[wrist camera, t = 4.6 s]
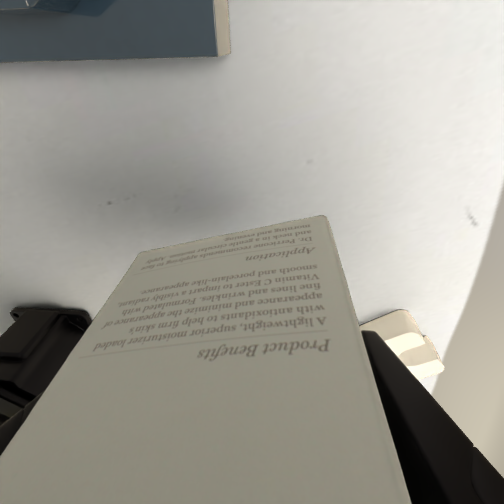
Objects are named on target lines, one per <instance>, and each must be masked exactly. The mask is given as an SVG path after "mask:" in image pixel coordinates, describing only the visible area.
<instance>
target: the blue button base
mask: <svg viewBox="0 0 504 504" xmlns="http://www.w3.org/2000/svg"><path fill="white" fill-rule="evenodd" d="M228 54H231V48H230V30H229V12H228V0H0V63H9V62H46V61H82V60H119V59H156V58H192V57H219V56H223V55H228Z"/></svg>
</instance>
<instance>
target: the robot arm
mask: <svg viewBox="0 0 504 504" xmlns="http://www.w3.org/2000/svg"><path fill="white" fill-rule="evenodd" d="M10 315H11V316H12V318H13V319H14V320H15V322H14V323H13V324H12V325H11V326H10V327H9V328H8V330H7V331H6V332H5V333H4V334H3V335H2V336H1V337H0V456H1V455H2V453H3V452H4V450H5V449H6V447H7V446H8V444H9V443H10V441H11V440H12V439H13V437H14V436H15V434H16V433H17V431H18V430H19V429H20V427H21V426H22V425H23V423H24V422H25V420H26V419H27V417H28V416H29V414H30V412H31V411H32V409H33V408H34V406H35V405H36V403H37V402H38V401H39V399H40V398H41V396H42V395H43V393H44V392H45V390H46V389H47V387H48V386H49V384H50V383H51V381H52V380H53V379H54V377H55V376H56V374H57V373H58V371H59V370H60V368H61V367H62V365H63V364H64V362H65V361H66V359H67V358H68V356H69V355H70V353H71V352H72V350H73V349H74V348H75V346H76V345H77V343H78V342H79V341H80V339H81V338H82V336H83V335H84V333H85V332H86V330H87V329H88V328H89V326H90V325H91V323H92V321H91V319H90V317H89V315H88V314H87V313H86V312H83V311H75V310H56V309H37V308H19V307H16V308H14V309H13V310H12V311H11V312H10ZM361 334H362V337H363V341H364V344H365V348H366V351H367V355H368V358H369V362H370V365H371V368H372V372H373V375H374V379H375V382H376V386H377V389H378V392H379V396H380V399H381V403H382V406H383V409H384V413H385V416H386V419H387V422H388V426H389V429H390V432H391V436H392V439H393V442H394V445H395V449H396V452H397V455H398V459H399V462H400V466H401V469H402V473H403V476H404V480H405V483H406V487H407V490H408V493H409V497H410V500H411V503H412V504H504V478H503V477H502V476H501V475H500V474H499V473H498V472H497V470H496V469H495V468H494V467H493V466H492V465H491V464H490V463H489V461H488V460H487V459H486V458H485V457H484V456H483V454H482V453H481V452H480V451H479V450H478V449H477V448H476V447H473V443H472V442H471V441H470V440H469V439H468V437H467V436H466V435H465V434H464V433H463V432H462V430H461V429H460V428H459V427H458V426H457V425H456V423H455V422H454V421H453V420H452V419H451V418H450V417H449V415H448V414H447V413H446V412H445V411H444V410H443V408H442V407H441V406H440V405H439V404H438V403H437V402H436V401H435V399H434V398H433V397H432V396H431V395H430V393H429V392H428V391H427V390H426V389H425V388H424V387H423V385H422V384H421V383H420V382H419V381H418V380H417V378H416V377H415V376H414V375H413V374H412V373H411V372H410V370H409V369H408V368H407V367H406V366H405V365H404V363H403V362H402V361H401V360H400V359H399V358H398V357H397V355H396V354H395V353H394V352H393V351H392V350H391V348H390V347H389V346H388V345H387V344H386V343H385V342H384V340H383V339H382V338H381V337H380V336H379V335H378V333H377V332H375V331H371V330H362V331H361Z"/></svg>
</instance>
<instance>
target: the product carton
mask: <svg viewBox="0 0 504 504" xmlns="http://www.w3.org/2000/svg"><path fill="white" fill-rule="evenodd" d="M0 504H412V503H411V500H410V497H409V493H408V490H407V487H406V483H405V480H404V476H403V473H402V469H401V466H400V462H399V459H398V455H397V452H396V449H395V445H394V442H393V439H392V436H391V432H390V429H389V426H388V422H387V419H386V416H385V413H384V409H383V406H382V403H381V399H380V396H379V392H378V389H377V386H376V382H375V379H374V375H373V372H372V368H371V365H370V362H369V358H368V355H367V351H366V348H365V344H364V341H363V337H362V334H361V331H360V327H359V324H358V320H357V317H356V313H355V310H354V306H353V303H352V299H351V296H350V292H349V289H348V285H347V282H346V278H345V275H344V272H343V268H342V265H341V262H340V258H339V255H338V251H337V248H336V244H335V241H334V237H333V234H332V231H331V227H330V224H329V221H328V219H327V217H326V216H324V215H319V216H314V217H309V218H304V219H300V220H294V221H289V222H284V223H279V224H275V225H270V226H265V227H260V228H255V229H250V230H245V231H241V232H236V233H231V234H225V235H221V236H216V237H211V238H206V239H201V240H196V241H192V242H187V243H182V244H178V245H173V246H168V247H163V248H158V249H154V250H149V251H144V252H141V253H139V254H138V256H137V257H136V259H135V260H134V262H133V263H132V265H131V266H130V268H129V269H128V271H127V272H126V273H125V275H124V276H123V278H122V280H121V281H120V282H119V284H118V285H117V287H116V288H115V290H114V291H113V292H112V294H111V295H110V297H109V298H108V300H107V301H106V303H105V304H104V306H103V307H102V308H101V310H100V311H99V312H98V314H97V315H96V317H95V318H94V320H93V322H92V323H91V325H90V326H89V328H88V329H87V330H86V332H85V333H84V335H83V336H82V338H81V339H80V341H79V342H78V343H77V345H76V346H75V348H74V349H73V350H72V352H71V353H70V355H69V356H68V358H67V359H66V361H65V362H64V364H63V365H62V367H61V368H60V370H59V371H58V373H57V374H56V376H55V377H54V379H53V380H52V381H51V383H50V384H49V386H48V387H47V389H46V390H45V392H44V393H43V395H42V396H41V398H40V399H39V401H38V402H37V403H36V405H35V406H34V408H33V409H32V411H31V412H30V414H29V416H28V417H27V419H26V420H25V422H24V423H23V425H22V426H21V427H20V429H19V430H18V431H17V433H16V434H15V436H14V437H13V439H12V440H11V441H10V443H9V444H8V446H7V447H6V449H5V450H4V452H3V453H2V455H1V456H0Z"/></svg>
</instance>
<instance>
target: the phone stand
mask: <svg viewBox="0 0 504 504" xmlns="http://www.w3.org/2000/svg"><path fill="white" fill-rule="evenodd" d="M359 327H360V331H362V330H371V331H375V332H377V333H378V335H379V336H380V337H381V338H382V339H383V340H384V342H385V343H386V344H387V345H388V346H389V347H390V348H391V350H392V351H393V352H394V353H395V354H396V355H397V357H398V358H399V359H400V360H401V361H402V362H403V363H404V365H405V366H406V367H407V368H408V369H409V370H410V372H411V373H412V374H413V375H414V376H415V377H416V378H417V380H419V379H422V378H426V377H429V376H432V375H435V374H439V373H441V372H442V371H443V370H444V366H443V364H442V362H441V360H440V357H439V355H438V353H437V351H436V349H435V347H434V345H433V343H432V342H431V340H430V339H429V338H428V337H427V336H424V337H423V336H422V334H421V332H420V330H419V328H418V326H417V323H416V321H415V320H414V318H413V317H412V316H411V315H410V313H409V312H408V311H406V310H397V311H394V312H392V313H389V314H387V315H385V316H382V317H380V318H378V319H375V320H373V321H370V322H368V323H366V324H363V325H361V326H359Z"/></svg>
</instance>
